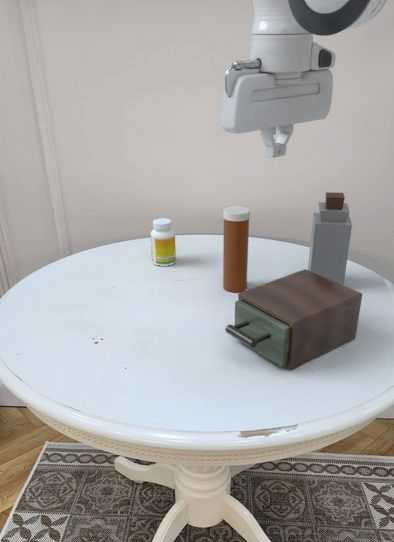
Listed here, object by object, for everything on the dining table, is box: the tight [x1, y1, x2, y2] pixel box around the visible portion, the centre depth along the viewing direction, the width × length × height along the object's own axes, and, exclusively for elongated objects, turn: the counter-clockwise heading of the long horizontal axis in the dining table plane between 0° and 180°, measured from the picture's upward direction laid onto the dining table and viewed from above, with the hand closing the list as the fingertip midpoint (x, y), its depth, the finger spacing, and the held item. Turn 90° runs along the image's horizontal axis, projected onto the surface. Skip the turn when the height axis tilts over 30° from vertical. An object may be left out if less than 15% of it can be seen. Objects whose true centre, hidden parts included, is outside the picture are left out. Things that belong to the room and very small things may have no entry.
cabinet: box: [237, 268, 363, 372], centre depth 89 cm, size 16×13×9 cm
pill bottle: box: [222, 205, 251, 293], centre depth 104 cm, size 5×5×16 cm
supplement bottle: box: [150, 217, 177, 267], centre depth 118 cm, size 5×5×10 cm
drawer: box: [224, 300, 290, 368], centre depth 87 cm, size 19×11×7 cm, turn 127°
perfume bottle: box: [307, 191, 353, 286], centre depth 105 cm, size 7×7×18 cm
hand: (275, 156), depth 85 cm, fingers closed
